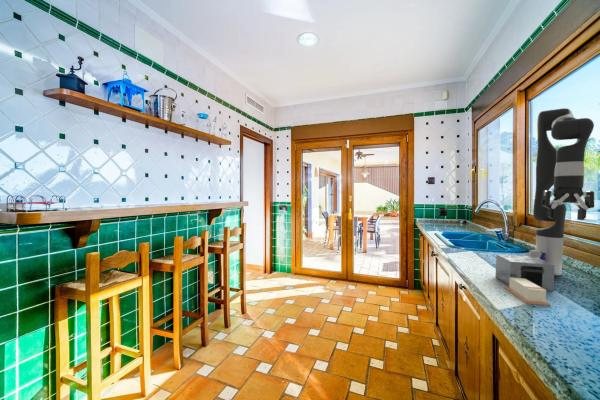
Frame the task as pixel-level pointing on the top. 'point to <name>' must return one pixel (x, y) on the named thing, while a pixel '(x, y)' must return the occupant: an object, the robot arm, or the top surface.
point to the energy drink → (538, 254)
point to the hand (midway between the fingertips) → (566, 219)
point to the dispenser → (525, 270)
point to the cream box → (527, 289)
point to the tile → (526, 299)
